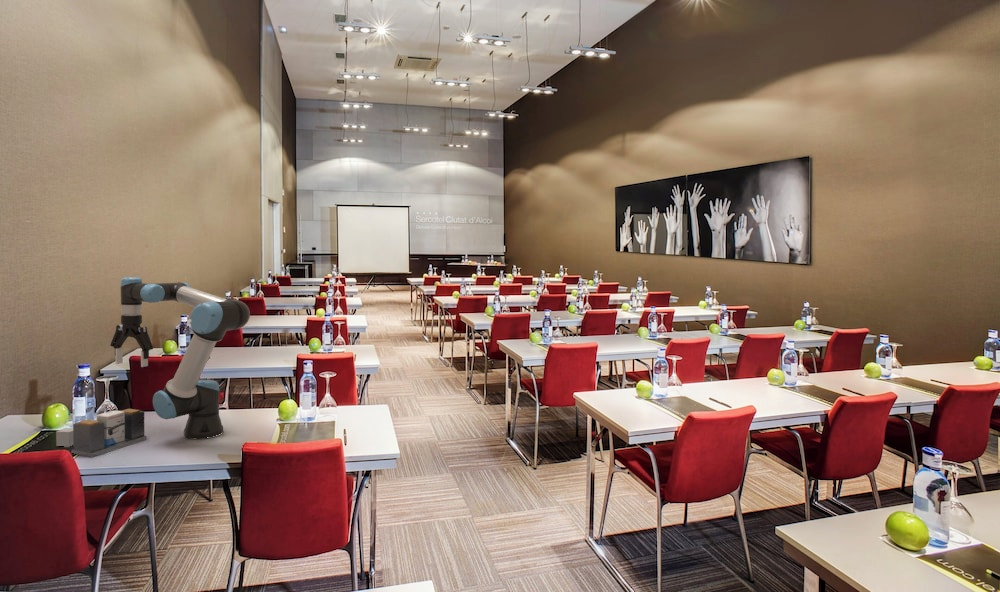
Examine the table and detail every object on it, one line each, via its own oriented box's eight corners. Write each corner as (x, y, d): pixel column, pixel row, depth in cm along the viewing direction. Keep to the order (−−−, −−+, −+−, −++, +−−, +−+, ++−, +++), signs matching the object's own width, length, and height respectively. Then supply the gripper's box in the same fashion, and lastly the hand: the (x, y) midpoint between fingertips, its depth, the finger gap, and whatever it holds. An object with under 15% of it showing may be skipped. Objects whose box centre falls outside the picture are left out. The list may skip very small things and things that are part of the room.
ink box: (106, 446, 236) (106, 416, 235) (96, 445, 238) (96, 415, 237) (125, 440, 244) (125, 411, 244) (115, 438, 246) (115, 409, 245)
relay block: (78, 443, 243) (78, 428, 243) (69, 447, 238) (68, 432, 238) (65, 442, 244) (65, 427, 243) (56, 446, 239) (56, 431, 238)
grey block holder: (146, 439, 251) (146, 410, 250) (91, 457, 228) (91, 425, 227) (127, 436, 254) (127, 407, 253) (71, 453, 231) (71, 422, 230)
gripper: (162, 315, 256) (162, 366, 258) (116, 311, 263) (116, 360, 265) (147, 317, 249) (147, 369, 251) (100, 313, 256) (100, 363, 258)
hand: (131, 365), depth 258 cm, fingers open, 13 cm apart
